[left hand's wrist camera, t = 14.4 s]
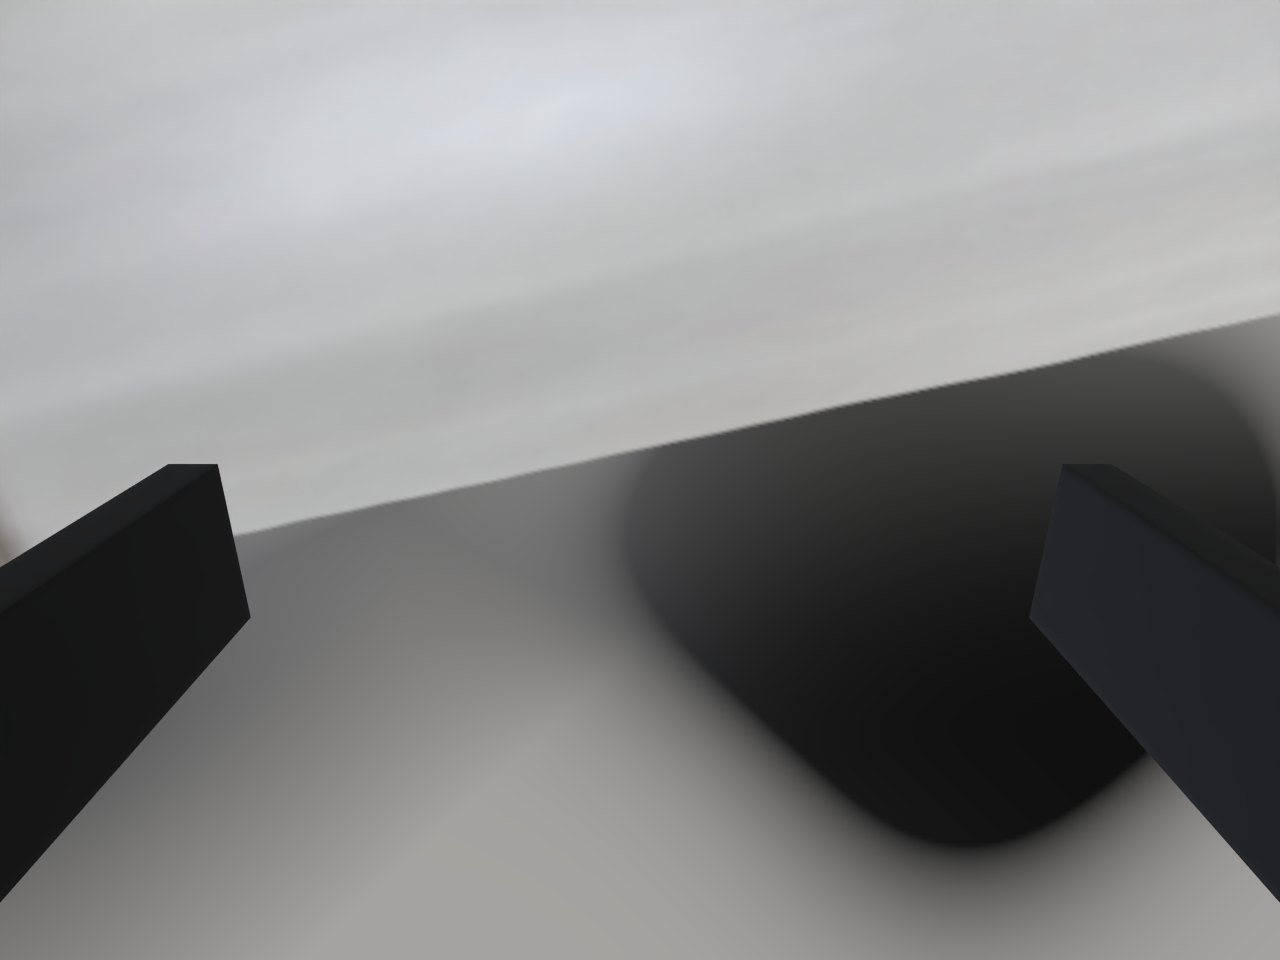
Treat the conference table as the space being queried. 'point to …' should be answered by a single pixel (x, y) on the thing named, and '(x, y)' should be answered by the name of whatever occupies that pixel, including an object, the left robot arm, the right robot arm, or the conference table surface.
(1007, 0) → the conference table surface
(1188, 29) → the conference table surface
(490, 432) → the conference table surface
